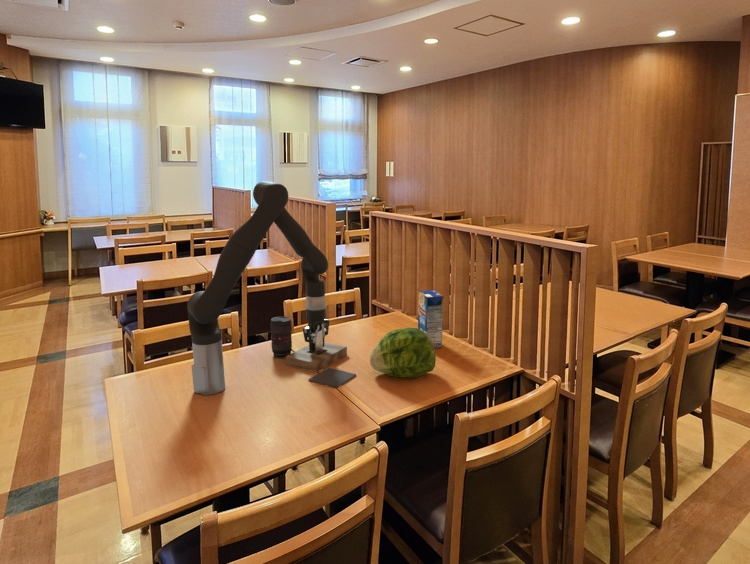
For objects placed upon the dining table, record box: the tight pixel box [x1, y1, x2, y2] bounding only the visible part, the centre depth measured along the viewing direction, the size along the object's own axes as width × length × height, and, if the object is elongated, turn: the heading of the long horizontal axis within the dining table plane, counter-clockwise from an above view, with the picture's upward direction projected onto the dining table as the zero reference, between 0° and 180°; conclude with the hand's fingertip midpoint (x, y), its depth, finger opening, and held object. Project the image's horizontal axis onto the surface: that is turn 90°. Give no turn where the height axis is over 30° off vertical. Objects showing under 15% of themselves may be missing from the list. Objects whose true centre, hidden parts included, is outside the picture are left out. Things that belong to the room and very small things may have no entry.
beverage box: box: [417, 289, 444, 349], centre depth 206 cm, size 7×11×22 cm, turn 14°
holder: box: [285, 341, 348, 373], centre depth 191 cm, size 20×14×4 cm
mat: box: [308, 367, 357, 389], centre depth 175 cm, size 12×12×1 cm
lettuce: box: [369, 327, 437, 379], centre depth 176 cm, size 18×23×19 cm
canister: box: [311, 330, 323, 355], centre depth 190 cm, size 4×4×12 cm
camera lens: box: [270, 315, 293, 359], centre depth 195 cm, size 8×8×15 cm
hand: (317, 349), depth 191 cm, fingers open, 5 cm apart
